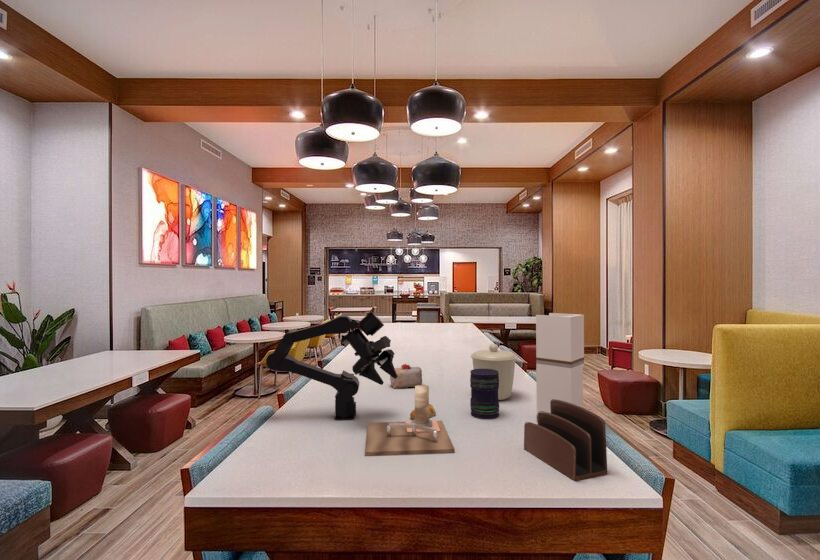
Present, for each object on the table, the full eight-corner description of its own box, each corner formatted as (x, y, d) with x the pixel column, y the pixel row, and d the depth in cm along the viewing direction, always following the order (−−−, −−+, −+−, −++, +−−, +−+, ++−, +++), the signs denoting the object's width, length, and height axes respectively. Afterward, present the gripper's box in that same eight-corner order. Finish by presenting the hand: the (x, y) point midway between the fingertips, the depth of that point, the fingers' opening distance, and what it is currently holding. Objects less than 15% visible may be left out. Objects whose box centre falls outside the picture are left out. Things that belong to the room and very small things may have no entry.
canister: (523, 395, 169) (523, 342, 169) (508, 406, 153) (507, 349, 153) (481, 389, 178) (481, 339, 178) (463, 399, 163) (463, 345, 163)
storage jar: (481, 421, 138) (481, 375, 138) (464, 413, 146) (464, 370, 146) (505, 416, 142) (505, 372, 142) (487, 408, 151) (487, 367, 151)
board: (365, 455, 111) (365, 452, 111) (367, 425, 134) (367, 422, 134) (454, 452, 113) (454, 449, 113) (441, 423, 136) (441, 420, 136)
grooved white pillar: (584, 421, 136) (583, 314, 136) (571, 430, 129) (570, 316, 129) (550, 414, 144) (550, 312, 144) (536, 422, 136) (536, 314, 137)
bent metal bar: (386, 436, 122) (386, 424, 122) (391, 432, 125) (390, 420, 125) (436, 442, 117) (436, 430, 117) (440, 438, 120) (439, 425, 120)
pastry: (420, 423, 137) (420, 411, 137) (404, 418, 141) (404, 407, 141) (437, 415, 144) (437, 404, 144) (422, 412, 149) (422, 401, 149)
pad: (407, 433, 124) (407, 431, 124) (405, 422, 134) (405, 420, 134) (440, 432, 125) (440, 430, 125) (436, 421, 135) (436, 419, 135)
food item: (392, 390, 178) (391, 366, 178) (389, 385, 186) (389, 363, 186) (423, 388, 180) (423, 365, 180) (419, 383, 188) (419, 361, 188)
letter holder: (553, 444, 118) (552, 394, 118) (608, 475, 100) (607, 416, 100) (523, 449, 115) (522, 398, 115) (574, 482, 96) (574, 421, 96)
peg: (418, 430, 125) (418, 390, 125) (407, 424, 131) (407, 385, 131) (436, 426, 128) (436, 387, 128) (425, 420, 134) (425, 383, 134)
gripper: (360, 332, 131) (390, 370, 126) (389, 326, 148) (417, 359, 143) (339, 355, 135) (368, 393, 130) (370, 347, 151) (397, 380, 146)
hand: (389, 380), depth 137 cm, fingers open, 9 cm apart
